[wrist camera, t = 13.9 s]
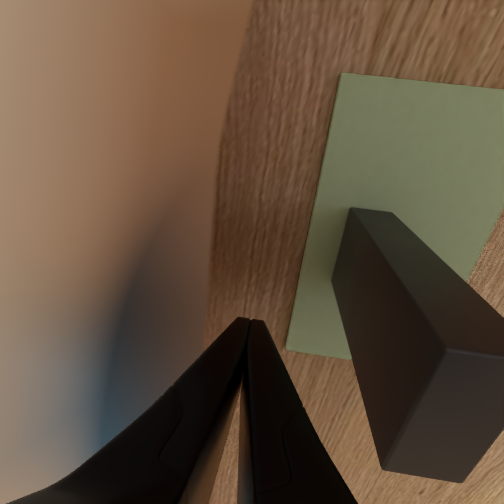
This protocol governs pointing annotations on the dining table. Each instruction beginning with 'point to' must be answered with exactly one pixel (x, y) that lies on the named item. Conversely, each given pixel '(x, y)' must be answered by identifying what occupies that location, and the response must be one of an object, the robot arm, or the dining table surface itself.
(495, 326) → the dark grey rectangular prism
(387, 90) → the mat
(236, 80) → the dining table surface
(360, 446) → the dining table surface
